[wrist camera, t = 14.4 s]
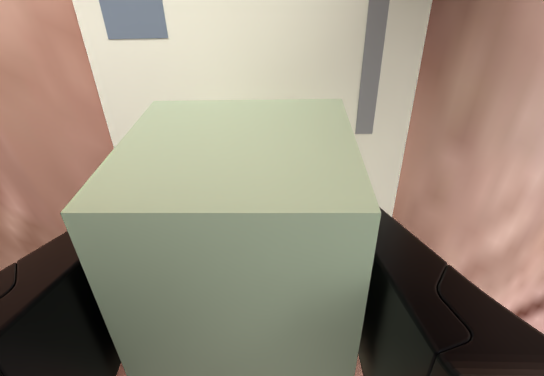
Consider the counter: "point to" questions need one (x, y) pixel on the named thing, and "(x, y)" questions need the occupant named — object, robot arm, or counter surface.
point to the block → (231, 239)
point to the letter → (265, 62)
